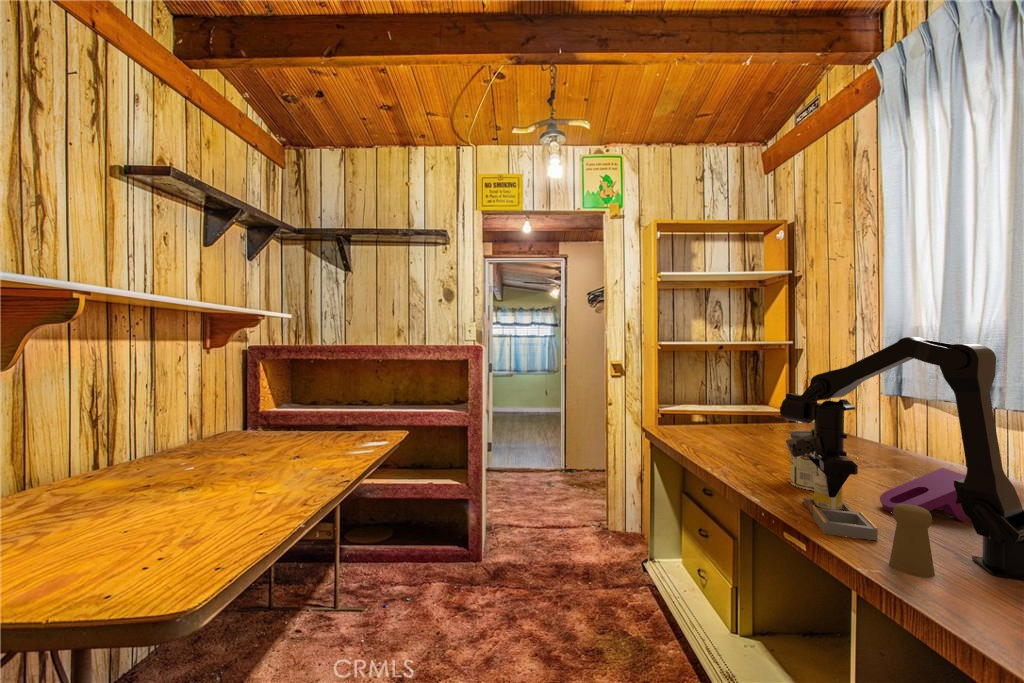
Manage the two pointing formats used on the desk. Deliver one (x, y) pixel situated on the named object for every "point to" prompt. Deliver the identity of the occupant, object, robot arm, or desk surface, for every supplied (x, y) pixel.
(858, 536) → the socket plate
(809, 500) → the frame
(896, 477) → the desk surface
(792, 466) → the coffee can
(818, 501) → the supplement bottle
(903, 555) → the cork
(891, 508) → the mounting bracket
